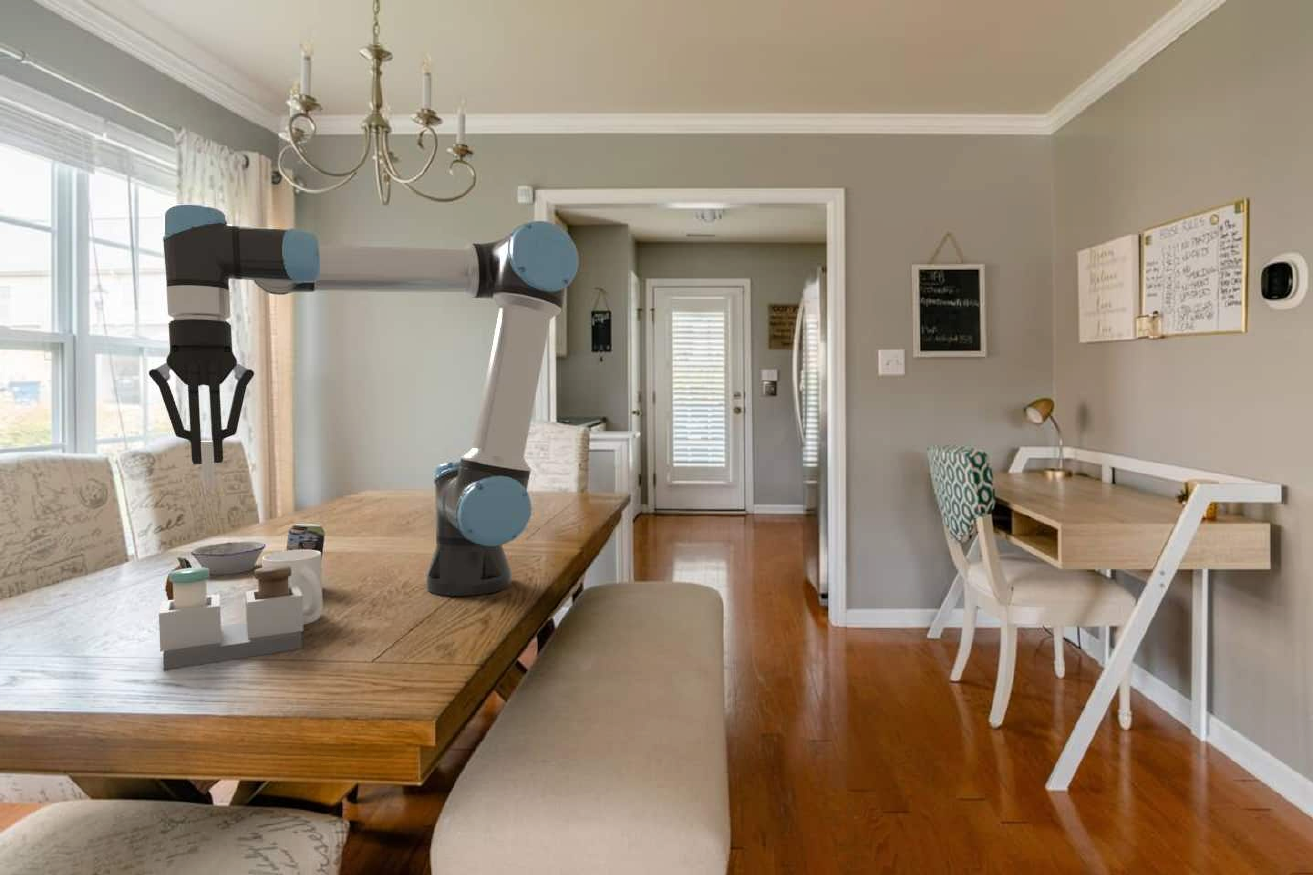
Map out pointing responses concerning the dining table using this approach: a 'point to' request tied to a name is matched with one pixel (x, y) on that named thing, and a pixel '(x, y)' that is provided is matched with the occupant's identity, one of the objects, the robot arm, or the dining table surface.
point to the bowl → (228, 556)
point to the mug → (302, 578)
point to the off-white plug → (189, 587)
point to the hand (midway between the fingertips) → (209, 486)
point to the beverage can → (306, 537)
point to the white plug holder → (230, 630)
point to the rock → (183, 565)
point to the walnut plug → (273, 581)
